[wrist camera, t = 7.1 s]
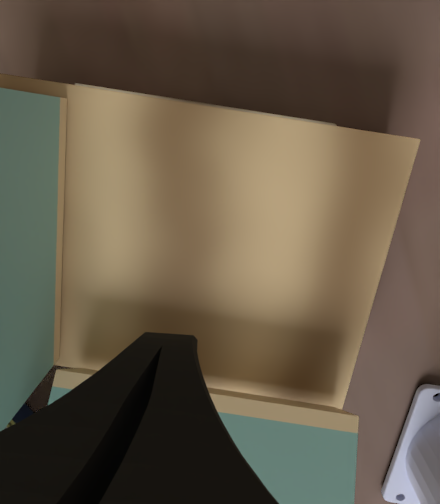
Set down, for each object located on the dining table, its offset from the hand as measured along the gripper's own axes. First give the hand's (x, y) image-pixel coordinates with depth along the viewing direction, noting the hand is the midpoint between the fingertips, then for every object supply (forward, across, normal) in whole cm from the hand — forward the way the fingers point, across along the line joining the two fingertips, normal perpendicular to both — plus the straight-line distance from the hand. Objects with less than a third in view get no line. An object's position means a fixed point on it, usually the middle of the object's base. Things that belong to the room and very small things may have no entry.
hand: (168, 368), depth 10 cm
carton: (+10, 0, -1) cm, 10 cm away
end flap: (+7, +7, -1) cm, 10 cm away
